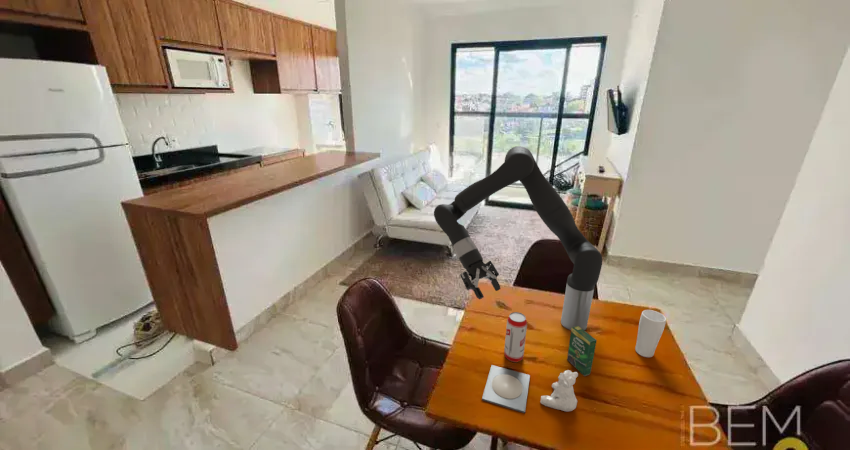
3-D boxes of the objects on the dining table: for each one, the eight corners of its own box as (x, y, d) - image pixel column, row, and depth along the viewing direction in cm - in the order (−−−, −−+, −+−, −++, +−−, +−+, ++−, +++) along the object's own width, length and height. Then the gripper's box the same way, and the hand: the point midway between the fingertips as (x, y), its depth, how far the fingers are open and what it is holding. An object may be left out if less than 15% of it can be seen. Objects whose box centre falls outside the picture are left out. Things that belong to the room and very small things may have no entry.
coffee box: (565, 359, 111) (571, 326, 106) (572, 357, 112) (578, 324, 107) (583, 376, 104) (590, 342, 99) (590, 374, 105) (597, 340, 100)
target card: (491, 366, 108) (491, 364, 108) (529, 376, 104) (530, 374, 104) (481, 400, 96) (482, 397, 96) (524, 413, 92) (525, 411, 92)
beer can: (523, 352, 114) (528, 313, 109) (522, 365, 109) (527, 324, 103) (505, 348, 116) (508, 309, 110) (502, 361, 111) (506, 320, 105)
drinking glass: (659, 361, 110) (670, 323, 105) (636, 358, 111) (646, 320, 106) (650, 347, 116) (661, 310, 111) (629, 344, 117) (638, 308, 112)
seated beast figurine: (554, 384, 101) (559, 352, 97) (582, 402, 95) (589, 369, 91) (538, 402, 95) (542, 369, 91) (567, 422, 89) (573, 388, 85)
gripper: (458, 253, 112) (482, 298, 107) (487, 243, 120) (510, 283, 116) (447, 262, 118) (469, 304, 113) (475, 251, 126) (497, 290, 121)
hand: (490, 294), depth 114 cm, fingers open, 8 cm apart
